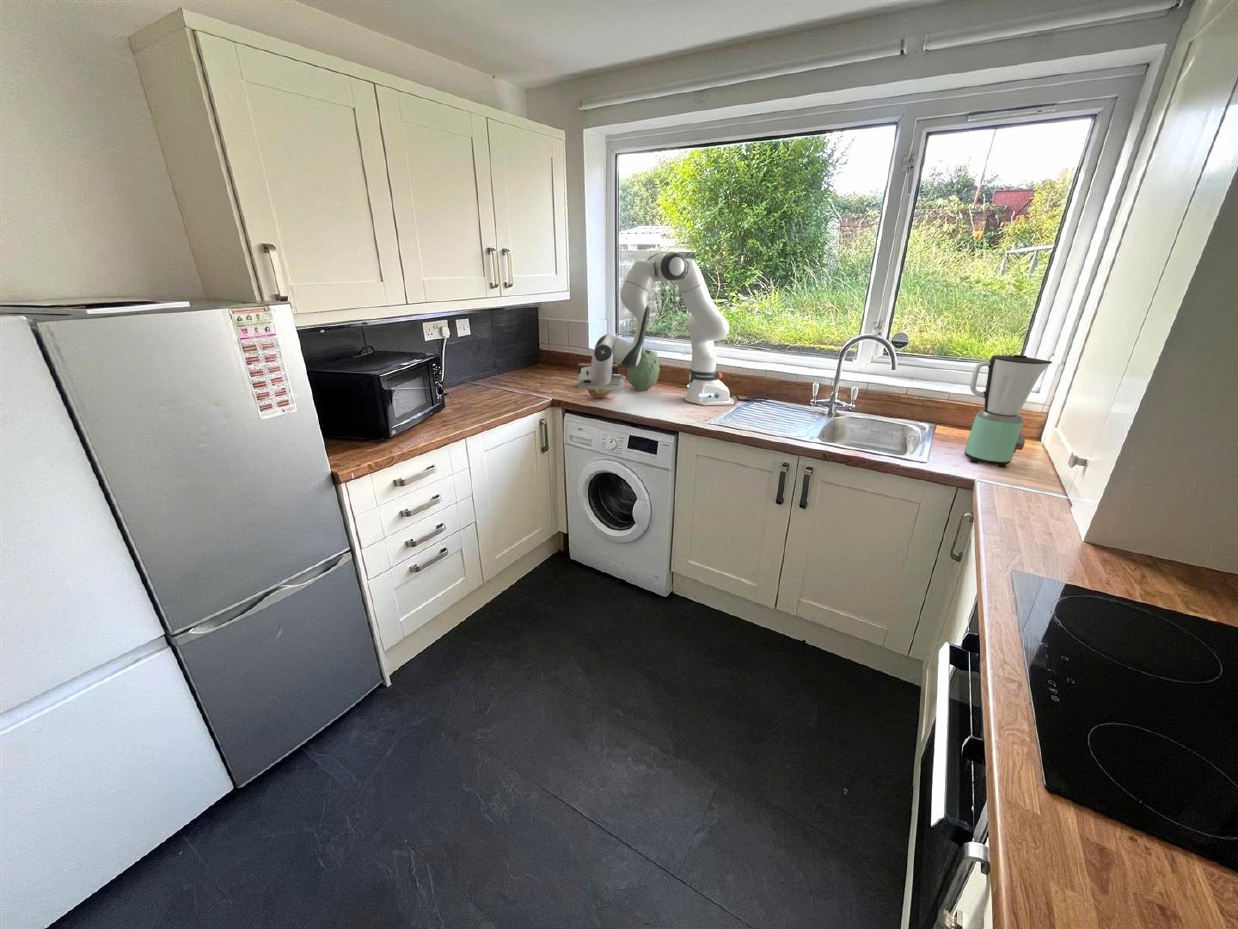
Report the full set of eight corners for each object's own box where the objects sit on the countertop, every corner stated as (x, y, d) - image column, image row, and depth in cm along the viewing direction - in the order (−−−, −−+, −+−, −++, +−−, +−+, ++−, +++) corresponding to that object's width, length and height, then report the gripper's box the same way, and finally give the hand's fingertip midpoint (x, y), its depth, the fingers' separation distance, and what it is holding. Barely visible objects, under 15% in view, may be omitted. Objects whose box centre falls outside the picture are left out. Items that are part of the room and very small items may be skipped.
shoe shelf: (617, 385, 257) (617, 364, 253) (618, 389, 248) (619, 367, 244) (578, 384, 255) (578, 363, 251) (578, 388, 247) (578, 366, 243)
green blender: (1011, 459, 170) (1046, 355, 157) (1021, 472, 158) (1060, 361, 145) (946, 449, 177) (975, 349, 164) (951, 461, 166) (983, 355, 153)
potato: (613, 395, 236) (613, 378, 233) (605, 401, 223) (605, 383, 220) (593, 394, 238) (593, 377, 235) (584, 400, 225) (584, 382, 222)
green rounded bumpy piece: (620, 391, 244) (621, 350, 237) (635, 384, 260) (637, 345, 253) (649, 395, 238) (652, 353, 231) (663, 388, 254) (666, 348, 247)
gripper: (625, 369, 212) (623, 386, 225) (577, 367, 210) (577, 385, 223) (626, 381, 209) (623, 398, 222) (577, 380, 208) (577, 397, 221)
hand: (600, 392), depth 223 cm, fingers closed
